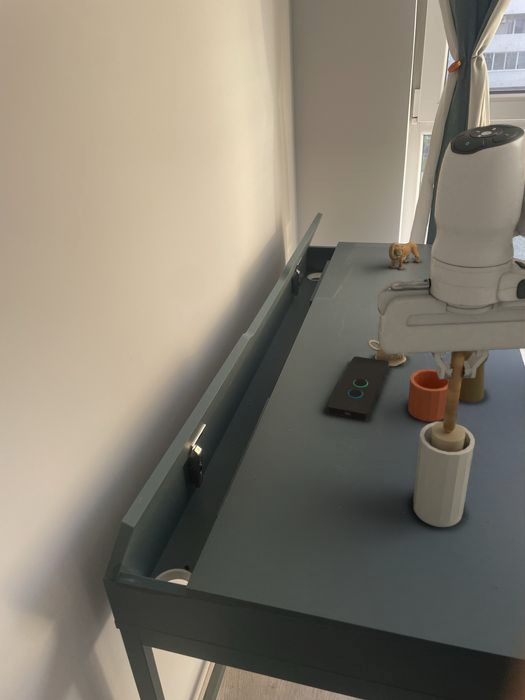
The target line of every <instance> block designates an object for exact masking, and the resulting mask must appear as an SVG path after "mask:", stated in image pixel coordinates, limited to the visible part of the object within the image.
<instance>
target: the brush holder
mask: <svg viewBox="0 0 525 700" xmlns="http://www.w3.org/2000/svg"><path fill="white" fill-rule="evenodd" d="M448 380H449V379H439V377H438V375H437V369H432V368H423V369H419V370H416V371H414V372H413V373H412V374H411V375H410V377H409V385H408V386H409V388H408V400H407V410H408V412H409V414H410V415H411V416H412V417H413V418H415V419H417V420H419V421H423V422H431V423H433V422H440V421H442V420H444V413H445V405H446V397H447V388H448Z"/></svg>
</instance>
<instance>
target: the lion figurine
mask: <svg viewBox="0 0 525 700" xmlns="http://www.w3.org/2000/svg"><path fill="white" fill-rule="evenodd" d="M410 254H412V255H413V256H414V258H415V260H414V261H415V262H416V263H419V262H420V254H419V251H418V245H417V244H416V242H414V241H411V242H407V243H405V244H403V245H402V244H401V243H399V242H398V241H395V242H392V243H391V244H390V245H389V246H388V257H389V259H390V260H391V264H392V265H390V268H391V269H394V268H395V267H396V262H398V261H399V264H398V270H403V268H404V267H403V263H407V262H408V260H409V259H410V256H411V255H410ZM404 258H405V259H404Z"/></svg>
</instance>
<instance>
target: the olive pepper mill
mask: <svg viewBox="0 0 525 700" xmlns="http://www.w3.org/2000/svg"><path fill="white" fill-rule="evenodd" d="M473 352H474V351H465V359H464V361H468V359H469V358H470V356H471V355H472V354H473ZM489 354H490V353H489V352H488V357H487V358H486V359H485V360H484V361H483V362H482V363H481V364H480V366H479V367H477V369H476V375H475V378H462V381H461V388H460V396H459V401H461V402H465V403H478V402H480V401H482V400H483V399H484V398H485V363H487V361H488V359H489Z"/></svg>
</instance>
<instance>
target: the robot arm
mask: <svg viewBox="0 0 525 700" xmlns="http://www.w3.org/2000/svg"><path fill="white" fill-rule="evenodd" d="M433 217H434V222H435V226H436V233H435V238H434V241H433V243H432V246H431V249H430V261H429V273H428V278H423V279H412V280H394V281H390V284H387V285H385V286H384V287H381V289H380V290H379V291H378V295H377V310H378V312H379V314H380V315H379V321H378V327H377V341H378V342H379V345H380V347H381V349H382V350H383V351H384V352H385V353H386V354H404V355H405V354H427V353H431V355H432V357H433V359H434V361H435V363H436V364H437V367H436V370H437V375H438V377H439V379H451V378H452V375H451V374H452V372H453V368H452V366H451V365H450V363H451V361H449V360H448V361H444V360H443V359H445V358H446V355H447V353H452V352H454V351H474V352H473V354H472V355H471V356H470V358H469V359H468V361H464V366H463V373H462V378H475V375H476V369H477V367H479V366H480V364H481V363H482V362H483V361H484V360H485V359H486V358H487V357H488V358H489V356H488V353H489V351H496V350H497V351H498V350H502V351H503V350H517V349H518V350H522V349H523V350H524V349H525V259H521V258H518V257H514V255H515V249H514V242H513V241H514V238H516V237H520V236H521V237H522V238H525V130H524V129H523V128H522V127H520V126H517V125H512V124H507V123H506V124H505V123H504V124H503V123H496V124H495V123H493V124H488V125H483V126H476V127H472V128H469V129H466V130H464V131H462V132H460V133H458V135H456V136H454V137H453V138H452V139H451V140H450V141H449V143H448V145H447V147H446V149H445V151H444V155H443V157H442V161H441V165H440V170H439V174H438V181H437V187H436V194H435V203H434V216H433Z"/></svg>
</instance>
